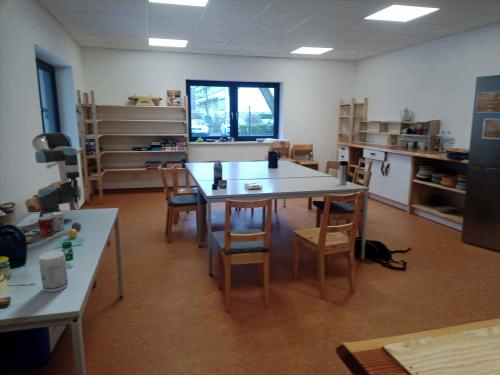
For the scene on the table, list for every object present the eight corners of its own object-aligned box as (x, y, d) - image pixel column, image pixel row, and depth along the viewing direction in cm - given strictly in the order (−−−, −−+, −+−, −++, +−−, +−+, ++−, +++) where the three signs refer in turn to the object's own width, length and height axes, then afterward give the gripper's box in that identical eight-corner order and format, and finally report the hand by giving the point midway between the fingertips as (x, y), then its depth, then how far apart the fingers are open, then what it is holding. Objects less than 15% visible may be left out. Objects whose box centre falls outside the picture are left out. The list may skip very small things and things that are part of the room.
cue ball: (72, 230, 227) (71, 221, 226) (82, 229, 229) (81, 220, 227) (71, 232, 222) (70, 224, 221) (80, 231, 223) (79, 223, 222)
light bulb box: (46, 233, 222) (44, 216, 220) (44, 230, 227) (41, 214, 225) (65, 229, 229) (63, 213, 227) (62, 227, 234) (60, 211, 232)
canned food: (48, 237, 214) (46, 219, 212) (37, 236, 216) (34, 219, 214) (58, 233, 222) (55, 216, 219) (46, 232, 223) (44, 215, 221)
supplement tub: (39, 288, 151) (34, 255, 148) (62, 280, 158) (58, 248, 155) (48, 295, 145) (43, 261, 142) (72, 286, 152) (68, 254, 149)
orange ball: (68, 237, 214) (67, 228, 213) (78, 236, 215) (77, 227, 214) (67, 240, 209) (65, 231, 208) (77, 238, 210) (76, 230, 209)
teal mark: (59, 240, 209) (59, 239, 209) (85, 237, 213) (85, 236, 213) (54, 248, 196) (54, 248, 196) (82, 245, 200) (81, 244, 200)
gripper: (67, 170, 232) (72, 205, 236) (63, 173, 219) (68, 210, 224) (80, 169, 234) (84, 204, 238) (77, 172, 221) (81, 209, 226)
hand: (76, 207), depth 231 cm, fingers closed
